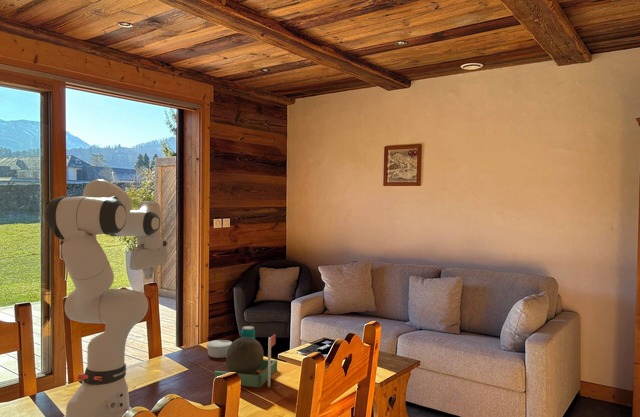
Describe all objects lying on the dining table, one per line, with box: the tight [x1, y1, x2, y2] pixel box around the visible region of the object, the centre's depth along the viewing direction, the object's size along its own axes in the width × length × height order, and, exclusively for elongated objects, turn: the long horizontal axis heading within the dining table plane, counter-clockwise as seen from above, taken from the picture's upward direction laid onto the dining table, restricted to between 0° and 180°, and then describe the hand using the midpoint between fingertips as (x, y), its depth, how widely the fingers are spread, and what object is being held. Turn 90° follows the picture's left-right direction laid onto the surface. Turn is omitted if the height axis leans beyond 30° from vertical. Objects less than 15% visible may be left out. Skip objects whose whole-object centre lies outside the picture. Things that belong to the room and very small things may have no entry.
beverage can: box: [240, 325, 256, 340], centre depth 211 cm, size 6×6×15 cm
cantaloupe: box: [225, 336, 265, 375], centre depth 194 cm, size 14×14×15 cm
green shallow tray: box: [213, 334, 278, 388], centre depth 194 cm, size 19×22×18 cm
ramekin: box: [206, 339, 233, 359], centre depth 221 cm, size 11×11×5 cm
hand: (148, 278), depth 194 cm, fingers closed
